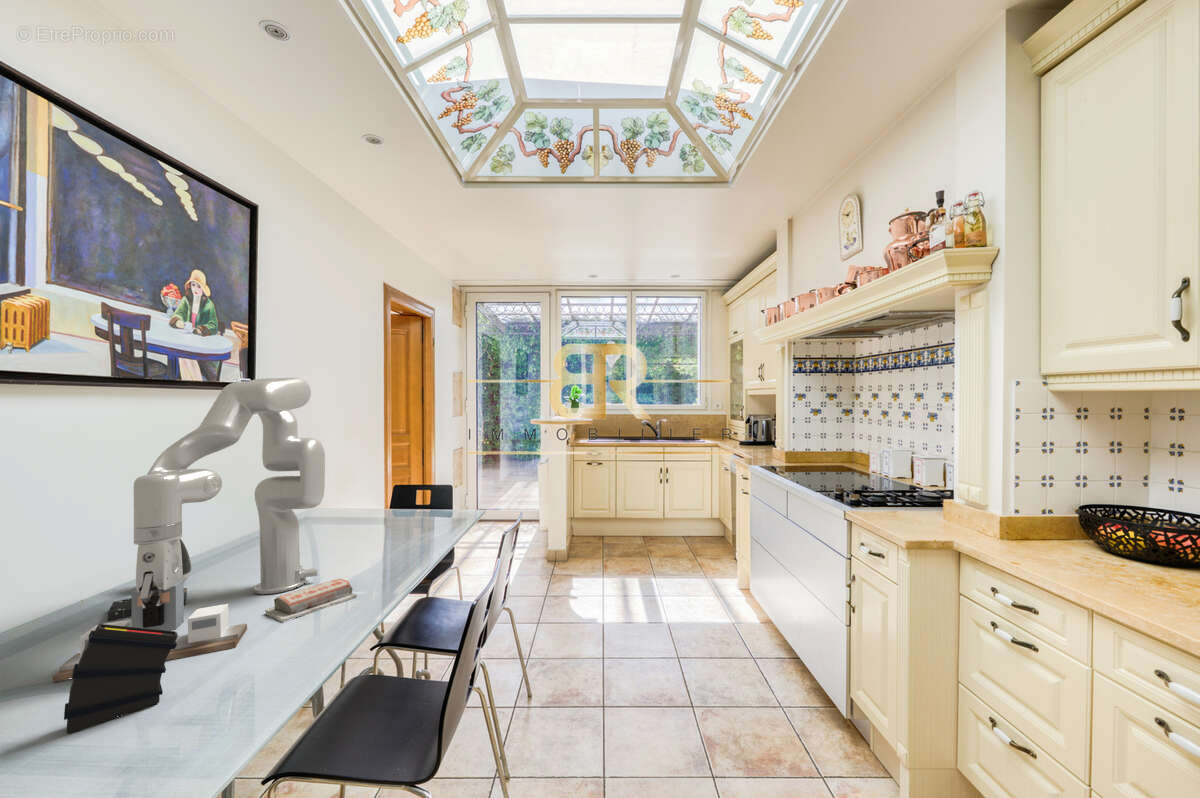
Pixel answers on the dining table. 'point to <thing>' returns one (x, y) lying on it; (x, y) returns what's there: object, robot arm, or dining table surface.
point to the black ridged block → (117, 674)
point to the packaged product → (310, 599)
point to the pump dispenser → (185, 561)
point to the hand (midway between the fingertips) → (158, 620)
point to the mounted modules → (200, 625)
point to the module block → (172, 608)
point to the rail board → (176, 649)
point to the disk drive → (126, 608)
